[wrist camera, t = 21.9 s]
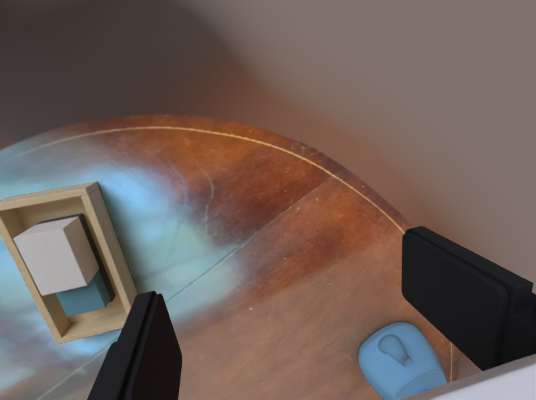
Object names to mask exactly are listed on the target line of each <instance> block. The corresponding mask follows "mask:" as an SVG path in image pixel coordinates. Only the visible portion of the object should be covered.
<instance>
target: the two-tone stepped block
mask: <svg viewBox="0 0 536 400" xmlns="http://www.w3.org/2000/svg"><path fill="white" fill-rule="evenodd" d="M13 239H14V241H15V243H16V245H17V247H18V249H19V251H20V253H21V255H22V257H23V259H24V261H25V263H26V265H27V267H28V269H29V271H30V273H31V275H32V277H33V279H34V281H35V283H36V285H37V287H38V289H39V291H40V293H41V295H42V296H43V295H48V294H52V293H56V295H57V297H58V299H59V301H60V303H61V305H62V307H63V309H64V312H65V314H66V316H67V317H70V316H74V315H78V314H82V313H86V312H90V311H94V310H98V309H103V308H106V306H107V304H108V302H112V301H113V300H114V298H115V296H116V295H115V293H114V290H113V288H112V285H111V283H110V280H109V278H108V275H107V273H106V270H105V267H104V265H103V262H102V260H101V257H100V255H99V252H98V250H97V247H96V245H95V242H94V240H93V237H92V235H91V232H90V229H89V227H88V224H87V222H86V219H85V217H84V214H83V213H80V214H75V215H70V216H65V217H59V218H54V219H49V220H44V221H40V222H39V223H37V224H36V225H34V226H32V227H31V228H29V229H28V230H26V231H24V232H23V233H21V234H20V235H18V236H16V237H15V238H13Z"/></svg>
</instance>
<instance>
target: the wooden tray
mask: <svg viewBox="0 0 536 400" xmlns="http://www.w3.org/2000/svg"><path fill="white" fill-rule="evenodd" d="M80 213H83V214H84V217H85V219H86V222H87V224H88V227H89V229H90V232H91V235H92V237H93V240H94V242H95V245H96V247H97V250H98V252H99V255H100V257H101V260H102V262H103V265H104V267H105V270H106V273H107V275H108V278H109V280H110V283H111V285H112V288H113V290H114V293H115V295H116V296H115V298H114V300H113V301H112V302H108V304H107V306H106V308H103V309H98V310H94V311H90V312H86V313H82V314H78V315H74V316H70V317H67V316H66V314H65V312H64V309H63V307H62V305H61V303H60V301H59V299H58V297H57V295H56V293H52V294H48V295H43V296H42V295H41V293H40V291H39V289H38V287H37V285H36V283H35V281H34V279H33V277H32V275H31V273H30V271H29V269H28V267H27V265H26V263H25V261H24V259H23V257H22V255H21V253H20V251H19V249H18V247H17V245H16V243H15V241H14V239H13V238H15V237H16V236H18V235H20V234H21V233H23V232H24V231H26V230H28V229H29V228H31V227H32V226H34V225H36V224H37V223H39V222H40V221H44V220H49V219H54V218H59V217H65V216H70V215H75V214H80ZM0 235H1V237H2V239H3V241H4V242H5V244H6V246H7V248H8V250H9V252H10V254H11V256H12V258H13V260H14V262H15V264H16V266H17V268H18V269H19V271H20V273H21V275H22V277H23V279H24V281H25V283H26V285H27V287H28V289H29V291H30V293H31V295H32V297H33V298H34V300H35V302H36V304H37V306H38V308H39V310H40V312H41V314H42V316H43V318H44V320H45V322H46V324H47V325H48V327H49V329H50V331H51V333H52V335H53V337H54V339H55V341H56V343H57V345H58V344H62V343H66V342H70V341H74V340H78V339H81V338H85V337H89V336H93V335H97V334H101V333H105V332H109V331H112V330H116V329H120V328H123V326H124V324H125V321H126V319H127V316H128V314H129V311H130V309H131V307H132V304H133V302H134V299H135V297H136V295H138V294H137V291H136V288H135V286H134V283H133V280H132V277H131V275H130V272H129V269H128V266H127V264H126V261H125V258H124V255H123V253H122V250H121V247H120V244H119V242H118V239H117V236H116V233H115V231H114V228H113V225H112V223H111V220H110V217H109V214H108V212H107V209H106V206H105V203H104V201H103V198H102V195H101V192H100V190H99V187H98V184H97V182H91V183H85V184H79V185H74V186H68V187H63V188H57V189H51V190H46V191H40V192H35V193H29V194H24V195H18V196H12V197H7V198H4V199H2V200H0Z"/></svg>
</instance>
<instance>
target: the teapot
mask: <svg viewBox="0 0 536 400" xmlns="http://www.w3.org/2000/svg"><path fill="white" fill-rule="evenodd" d="M358 357H359V365H360V368H361V370H362V373H363V374H364V376H365V378H366V379H367V381H368V382H369V383H370V385H371V386H372V387H373V388H374V390H375V391H376V392H377V393H378V394H379V395H380V396H381V397H382V398H383V399H384V400H400V399H403V398H405V397H408V396H411V395H414V394H417V393H420V392H423V391H426V390H429V389H432V388H435V387H438V386H440V385H443V384H446V383H447V380H446V377H445V374H444V371H443V369H442V366H441V364H440V362H439V359H438V357H437V355H436V353H435V351H434V350H433V348H432V346H431V345H430V343H429V342H428V340H427V339H426V338H425V336H424V335H423V334H422V332H421V331H420V330H419V329H418V328H417V327H415V326H414V325H412V324H409V323H406V322H396V323H393V324H390V325H388V326H386V327H384V328H382V329H380V330H378V331H377V332H375V333H374V334H373V335H371V336H370V337H369V338H368V339H367V340H366V341H365V342H364V343H363V344H362V345H361V347H360V349H359V354H358Z"/></svg>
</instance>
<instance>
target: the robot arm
mask: <svg viewBox="0 0 536 400" xmlns="http://www.w3.org/2000/svg"><path fill="white" fill-rule="evenodd" d="M532 287H533V283H532V282H530V281H528V280H526V279H524V278H522V277H520V276H518V275H516V274H514V273H512V272H511V271H509V270H507V269H505V268H503V267H501V266H499V265H497V264H495V263H493V262H491V261H489V260H487V259H485V258H483V257H482V256H480V255H478V254H476V253H474V252H472V251H470V250H468V249H466V248H464V247H462V246H460V245H458V244H456V243H454V242H453V241H451V240H449V239H447V238H445V237H443V236H441V235H439V234H437V233H435V232H433V231H431V230H429V229H427V228H425V227H422V226H420V227H416V228H411V229H408V230H406V232H405V234H404V235H403V238H402V294H403V296H404V298H405V299H406V300H407V301H408V302H409V303H410V304H411V305H412V306H413V307H414V308H415V309H417V310H418V311H419V312H420V313H421V314H422V315H423V316H424V317H425V318H426V319H427V320H428V321H429V322H430V323H431V324H433V325H434V326H435V327H436V328H437V329H438V330H439V331H440V332H441V333H442V334H443V335H444V336H445V337H446V338H447V339H449V340H450V341H451V342H452V343H453V344H454V345H455V346H456V347H457V348H458V349H459V350H460V351H462V352H463V353H464V354H465V355H466V356H467V357H468V358H469V359H470V360H471V361H472V362H473V363H474V364H475V365H476V366H478V368H480V369H481V370H482V372H479V373H476V374H473V375H470V376H467V377H464V378H462V379H458V380H455V381H452V382H449V383H446V384H443V385H440V386H438V387H435V388H432V389H429V390H426V391H423V392H420V393H417V394H414V395H411V396H408V397H405V398H403V399H400V400H536V294H534V293H532ZM181 368H182V354H181V350H180V347H179V344H178V341H177V338H176V335H175V332H174V329H173V326H172V323H171V320H170V317H169V314H168V311H167V307H166V304H165V301H164V298H163V296H162V294H156V292H155V291H151V292H147V293H143V294H139V295H136V297H135V299H134V302H133V304H132V307H131V309H130V311H129V314H128V316H127V319H126V321H125V324H124V326H123V329H122V331H121V333H120V336H119V338H118V341H116V342H114V343H113V344H112V345H111V346H110V348H109V350H108V353H107V355H106V357H105V359H104V362H103V364H102V366H101V369H100V371H99V373H98V376H97V378H96V380H95V383H94V385H93V387H92V390H91V392H90V394H89V397H88V399H87V400H178V395H179V386H180V377H181Z"/></svg>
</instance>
